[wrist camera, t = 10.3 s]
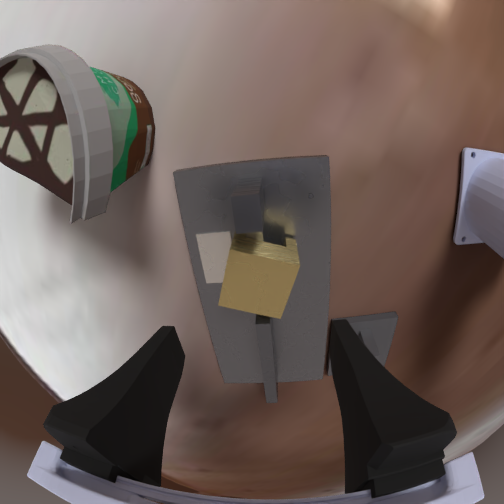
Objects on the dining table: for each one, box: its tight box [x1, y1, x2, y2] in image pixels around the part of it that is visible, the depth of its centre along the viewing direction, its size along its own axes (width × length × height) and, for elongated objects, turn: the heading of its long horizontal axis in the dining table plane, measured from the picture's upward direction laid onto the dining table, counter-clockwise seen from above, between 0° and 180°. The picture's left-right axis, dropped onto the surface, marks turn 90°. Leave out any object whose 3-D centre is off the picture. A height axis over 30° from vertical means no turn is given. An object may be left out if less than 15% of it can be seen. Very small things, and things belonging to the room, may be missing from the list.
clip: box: [218, 231, 300, 319], centre depth 18 cm, size 4×4×4 cm
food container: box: [0, 45, 155, 223], centre depth 11 cm, size 12×6×10 cm, turn 59°
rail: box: [173, 155, 331, 403], centre depth 20 cm, size 10×21×5 cm, turn 6°
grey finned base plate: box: [327, 312, 398, 376], centre depth 22 cm, size 6×7×4 cm
